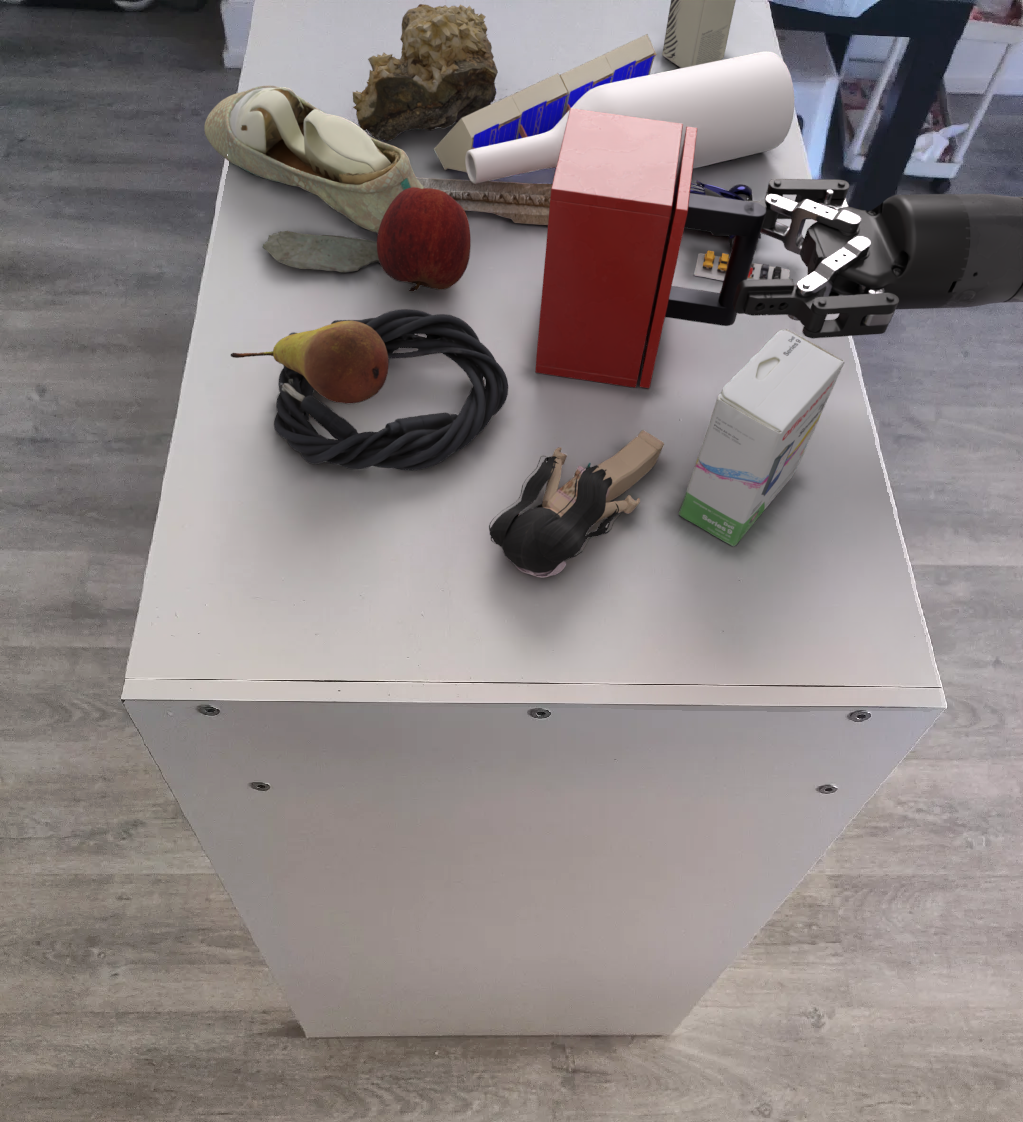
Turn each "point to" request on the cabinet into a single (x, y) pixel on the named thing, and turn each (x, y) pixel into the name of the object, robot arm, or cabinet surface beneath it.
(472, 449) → the cabinet surface
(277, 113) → the ballet flat
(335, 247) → the stone
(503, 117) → the building
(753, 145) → the bottle
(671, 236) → the door
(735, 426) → the ink box
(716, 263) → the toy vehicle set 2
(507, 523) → the toy figure
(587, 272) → the cabinet
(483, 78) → the mineral specimen
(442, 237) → the apple
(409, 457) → the cable
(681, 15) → the box
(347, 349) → the fruit
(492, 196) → the fossil
